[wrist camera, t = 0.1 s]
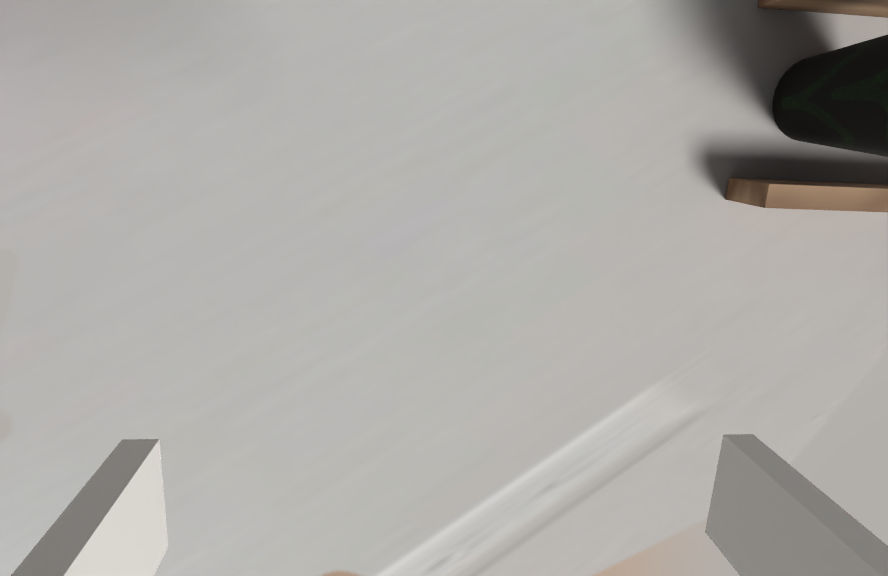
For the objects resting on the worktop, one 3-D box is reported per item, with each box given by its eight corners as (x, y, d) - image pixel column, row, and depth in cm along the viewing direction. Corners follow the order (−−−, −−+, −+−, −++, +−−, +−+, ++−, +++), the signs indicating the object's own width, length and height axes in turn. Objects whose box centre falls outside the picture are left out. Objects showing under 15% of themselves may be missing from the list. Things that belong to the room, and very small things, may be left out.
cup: (827, 14, 40) (1011, -32, 28) (882, 102, 42) (1075, 94, 30) (736, 96, 40) (879, 84, 29) (795, 179, 42) (950, 199, 31)
